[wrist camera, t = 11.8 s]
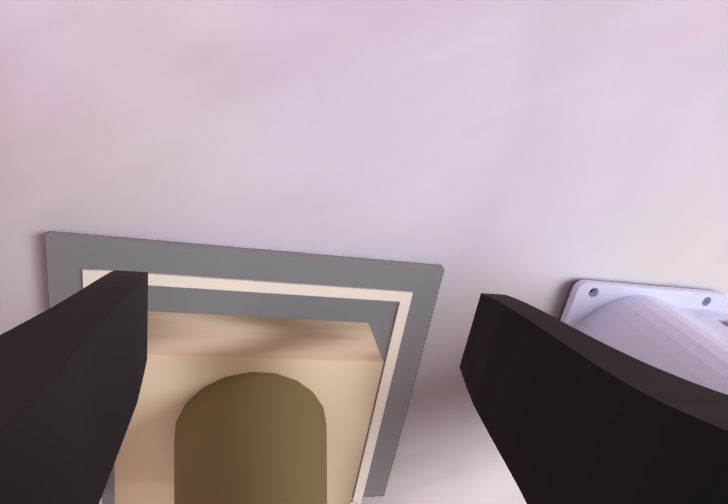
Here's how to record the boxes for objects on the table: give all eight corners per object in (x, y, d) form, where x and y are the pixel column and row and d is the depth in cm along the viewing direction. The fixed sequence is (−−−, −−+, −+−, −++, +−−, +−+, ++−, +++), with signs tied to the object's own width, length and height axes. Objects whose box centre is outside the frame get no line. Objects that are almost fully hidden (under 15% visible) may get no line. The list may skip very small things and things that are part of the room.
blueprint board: (441, 265, 23) (445, 270, 23) (379, 500, 29) (381, 507, 28) (48, 231, 19) (43, 236, 19) (64, 512, 24) (61, 521, 24)
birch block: (368, 322, 23) (383, 362, 20) (333, 484, 27) (342, 535, 24) (131, 310, 21) (114, 353, 18) (130, 490, 24) (114, 548, 22)
